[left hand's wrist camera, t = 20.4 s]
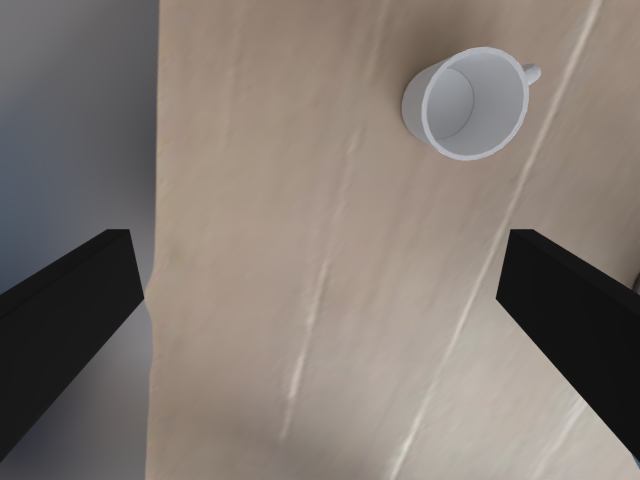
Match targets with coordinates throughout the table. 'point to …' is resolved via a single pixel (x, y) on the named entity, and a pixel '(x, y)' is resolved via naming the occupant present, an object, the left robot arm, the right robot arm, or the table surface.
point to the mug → (469, 102)
